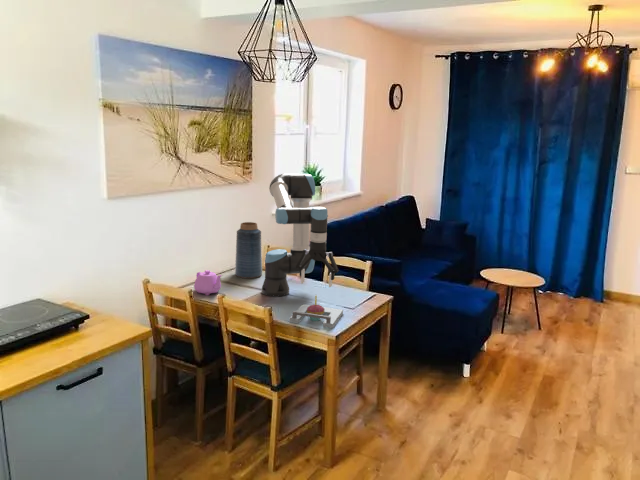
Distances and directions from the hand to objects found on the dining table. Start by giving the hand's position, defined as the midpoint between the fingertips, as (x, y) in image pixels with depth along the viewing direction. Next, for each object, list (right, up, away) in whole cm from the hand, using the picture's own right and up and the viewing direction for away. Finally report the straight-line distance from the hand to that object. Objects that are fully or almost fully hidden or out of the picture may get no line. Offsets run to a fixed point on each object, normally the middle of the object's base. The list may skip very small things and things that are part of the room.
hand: (316, 284), depth 246 cm
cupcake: (-1, -17, +3) cm, 17 cm away
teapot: (-58, -8, +36) cm, 69 cm away
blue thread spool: (-42, 0, +71) cm, 82 cm away
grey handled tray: (0, -16, +6) cm, 17 cm away
